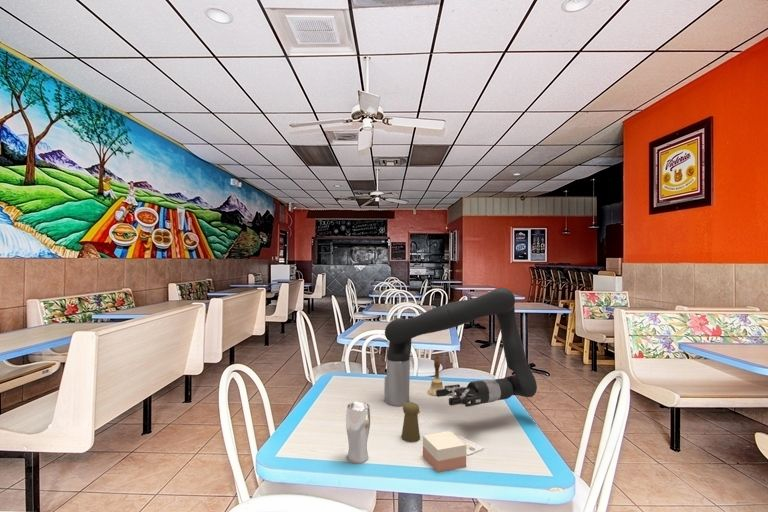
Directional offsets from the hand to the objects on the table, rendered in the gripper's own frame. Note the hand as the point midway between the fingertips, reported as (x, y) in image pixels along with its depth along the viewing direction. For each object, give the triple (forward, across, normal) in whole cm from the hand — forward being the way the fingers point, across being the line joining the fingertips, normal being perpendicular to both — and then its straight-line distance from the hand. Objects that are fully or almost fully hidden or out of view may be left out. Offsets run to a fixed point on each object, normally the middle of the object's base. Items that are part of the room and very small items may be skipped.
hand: (442, 397), depth 128 cm
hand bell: (-17, -35, +12) cm, 40 cm away
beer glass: (+31, +6, +12) cm, 34 cm away
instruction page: (-2, +10, +12) cm, 15 cm away
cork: (+12, 0, +12) cm, 16 cm away
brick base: (+9, +16, +12) cm, 22 cm away
